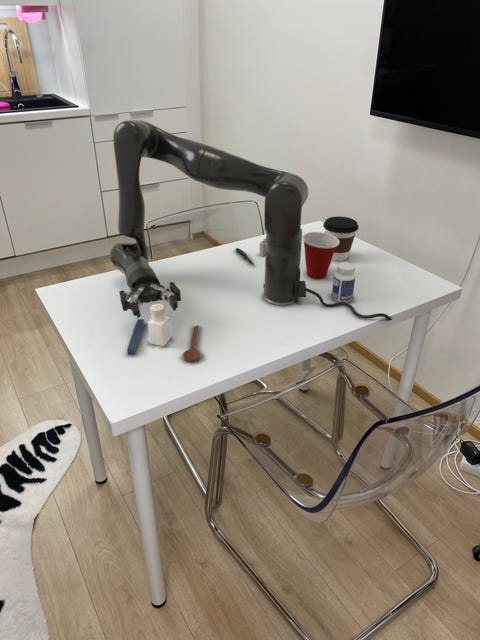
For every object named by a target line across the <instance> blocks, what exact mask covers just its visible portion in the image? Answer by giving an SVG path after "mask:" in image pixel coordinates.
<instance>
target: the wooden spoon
mask: <svg viewBox="0 0 480 640" xmlns="http://www.w3.org/2000/svg"><path fill="white" fill-rule="evenodd" d="M199 327H200V326H199V325H193V329H192V335H191V341H190V347H189V349H187V350H185V351H184V352H183V353H182V358H183V360H184V361H185V362H186V363H191V364H192V363H196V362H199V361H200V360H201V357H202V354H201V351H200V350H199V349H197V343H198V337H199V329H200V328H199Z"/></svg>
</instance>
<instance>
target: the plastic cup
mask: <svg viewBox="0 0 480 640" xmlns="http://www.w3.org/2000/svg"><path fill="white" fill-rule="evenodd" d="M302 242H303V247H304V258H305V259H304V260H305V267H306V275H307V277H308V278H310V279H313V280H323V279H325V278H326V277H327V275H328V273H329V268H330V267H331V264H332V261H333V260H332V257H333V254H334V251H335V249H336V247H337V246H338V245H339V243H340V241H339V239H338V238H336V237H335V236H333V235H330V234H327V233H325V232H323V231H321V232H320V231H309V232H306V233H304V234H302Z"/></svg>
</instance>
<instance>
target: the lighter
mask: <svg viewBox="0 0 480 640" xmlns="http://www.w3.org/2000/svg"><path fill="white" fill-rule="evenodd" d="M259 256H260V257H265V256H266V237H265V238H263V239H262V241H261V242H260V241H259Z"/></svg>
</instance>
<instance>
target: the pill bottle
mask: <svg viewBox="0 0 480 640" xmlns="http://www.w3.org/2000/svg"><path fill="white" fill-rule="evenodd" d="M355 271H356V266H355V264H353V263H352V262H346V261H345V262H344V261H341V262H339V263H338V264H337V265H336V271H335V272H334V274H333V280H332V281H333V282H332V290H331V299H332V300H333V301H334V302H336V303H338V302H345V303H349V302H351V301H352V300H353V298H354V291H355V284H356V273H355Z"/></svg>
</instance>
